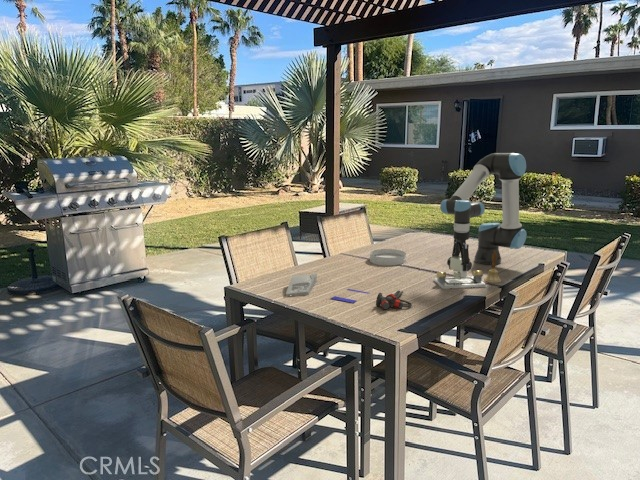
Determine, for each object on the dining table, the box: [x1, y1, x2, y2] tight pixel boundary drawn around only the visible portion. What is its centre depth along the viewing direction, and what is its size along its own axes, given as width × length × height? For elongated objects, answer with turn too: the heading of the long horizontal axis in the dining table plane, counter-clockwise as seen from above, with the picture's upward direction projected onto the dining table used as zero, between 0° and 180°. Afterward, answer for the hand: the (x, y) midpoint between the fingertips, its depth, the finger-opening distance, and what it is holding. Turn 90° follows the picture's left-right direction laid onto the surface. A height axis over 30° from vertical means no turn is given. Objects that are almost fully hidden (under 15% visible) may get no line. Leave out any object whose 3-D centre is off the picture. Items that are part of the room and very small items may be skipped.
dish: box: [369, 248, 407, 266], centre depth 293 cm, size 22×22×5 cm
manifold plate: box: [433, 269, 487, 290], centre depth 245 cm, size 23×14×7 cm, turn 94°
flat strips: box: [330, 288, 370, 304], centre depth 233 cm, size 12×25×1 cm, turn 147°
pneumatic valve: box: [446, 255, 473, 280], centre depth 244 cm, size 6×12×12 cm, turn 41°
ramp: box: [285, 272, 318, 297], centre depth 242 cm, size 28×16×5 cm, turn 150°
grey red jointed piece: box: [375, 289, 412, 310], centre depth 219 cm, size 6×26×15 cm
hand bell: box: [483, 251, 502, 284], centre depth 248 cm, size 8×8×16 cm
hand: (459, 273), depth 244 cm, fingers closed on pneumatic valve, 10 cm apart
